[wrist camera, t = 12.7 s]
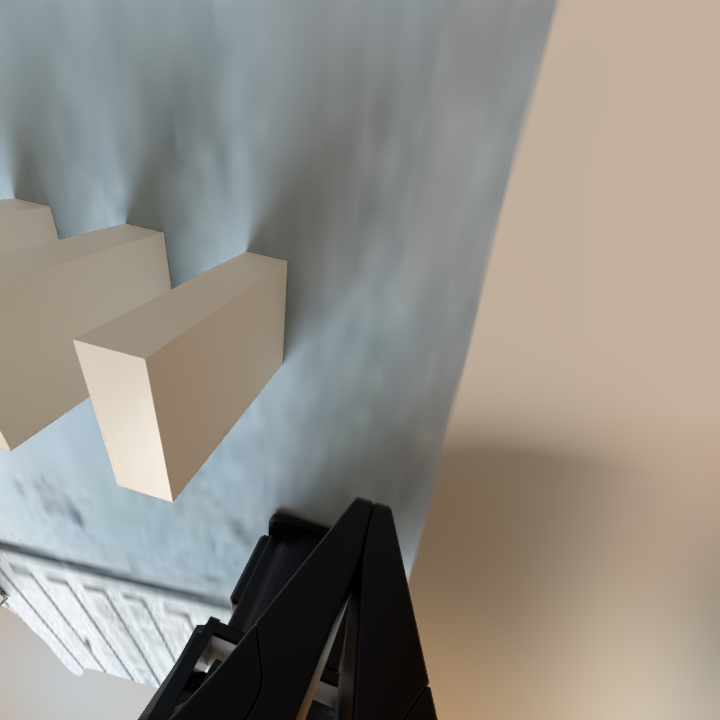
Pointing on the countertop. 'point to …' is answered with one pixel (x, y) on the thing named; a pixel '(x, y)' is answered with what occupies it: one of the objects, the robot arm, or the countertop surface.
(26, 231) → the domino
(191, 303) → the domino
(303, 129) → the countertop surface
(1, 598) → the syrup box
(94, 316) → the domino
